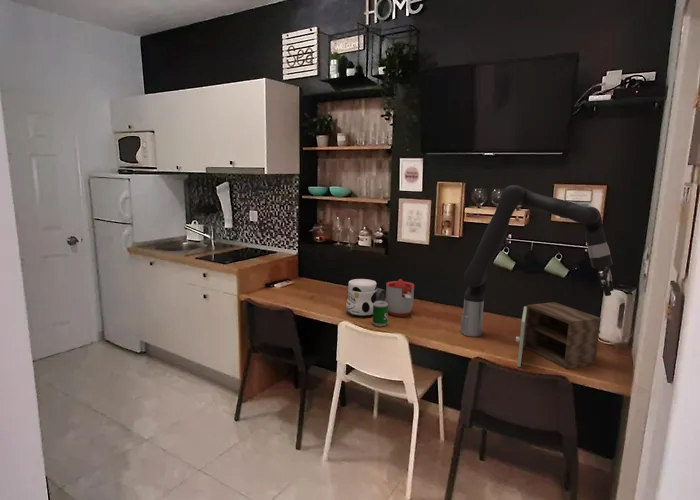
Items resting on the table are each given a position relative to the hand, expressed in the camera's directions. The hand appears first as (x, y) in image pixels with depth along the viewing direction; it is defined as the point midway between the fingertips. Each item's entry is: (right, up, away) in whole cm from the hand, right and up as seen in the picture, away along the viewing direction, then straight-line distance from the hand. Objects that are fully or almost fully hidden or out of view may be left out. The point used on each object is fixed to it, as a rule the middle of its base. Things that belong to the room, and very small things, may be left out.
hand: (609, 293), depth 180 cm
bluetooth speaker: (-96, -14, +86) cm, 130 cm away
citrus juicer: (-79, -18, +64) cm, 103 cm away
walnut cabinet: (-16, -28, +12) cm, 34 cm away
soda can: (-91, -21, +46) cm, 104 cm away
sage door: (-34, -28, +9) cm, 45 cm away
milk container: (-100, -18, +63) cm, 119 cm away
